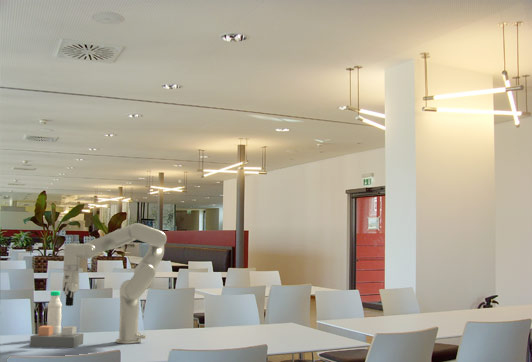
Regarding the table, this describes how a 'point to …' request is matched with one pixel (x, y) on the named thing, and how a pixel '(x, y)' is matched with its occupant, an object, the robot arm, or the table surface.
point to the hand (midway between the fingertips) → (69, 305)
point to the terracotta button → (45, 330)
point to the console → (56, 340)
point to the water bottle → (54, 312)
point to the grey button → (69, 331)
